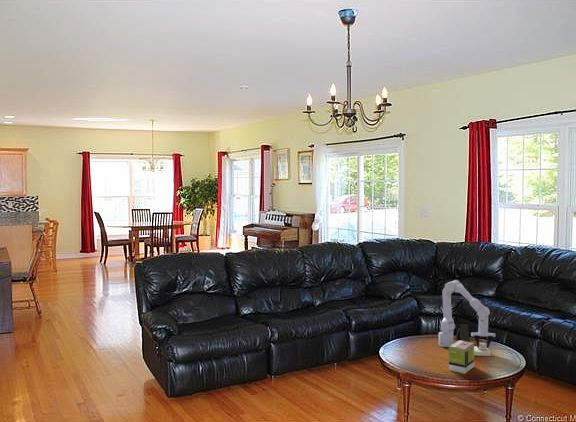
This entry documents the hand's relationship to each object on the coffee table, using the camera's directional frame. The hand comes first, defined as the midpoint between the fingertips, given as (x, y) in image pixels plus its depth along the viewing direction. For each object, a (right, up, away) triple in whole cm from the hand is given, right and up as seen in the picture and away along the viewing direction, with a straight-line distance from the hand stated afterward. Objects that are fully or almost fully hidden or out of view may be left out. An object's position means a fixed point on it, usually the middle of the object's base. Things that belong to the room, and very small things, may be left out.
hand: (482, 347), depth 343 cm
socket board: (-4, -4, +1) cm, 6 cm away
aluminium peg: (0, -4, +1) cm, 4 cm away
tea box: (-22, -6, -27) cm, 36 cm away
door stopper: (-5, -3, +25) cm, 25 cm away
